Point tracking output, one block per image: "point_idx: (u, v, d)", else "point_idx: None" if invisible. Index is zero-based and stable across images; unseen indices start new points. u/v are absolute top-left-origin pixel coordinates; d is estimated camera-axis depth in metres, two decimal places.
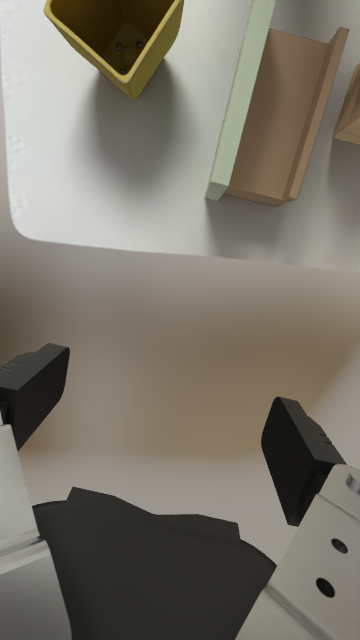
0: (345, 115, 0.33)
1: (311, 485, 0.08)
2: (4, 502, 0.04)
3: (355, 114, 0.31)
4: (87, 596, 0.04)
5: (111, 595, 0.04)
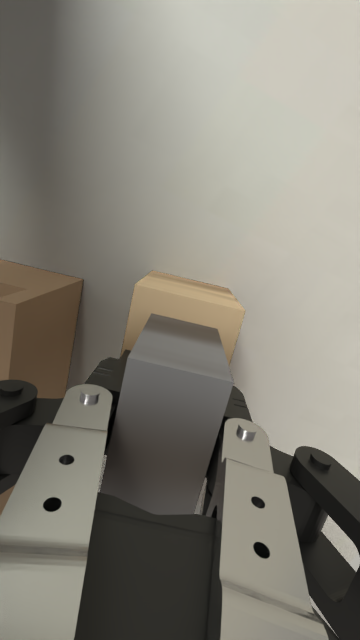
0: None
1: None
2: (73, 502, 0.05)
3: None
4: (87, 596, 0.04)
5: (111, 595, 0.04)
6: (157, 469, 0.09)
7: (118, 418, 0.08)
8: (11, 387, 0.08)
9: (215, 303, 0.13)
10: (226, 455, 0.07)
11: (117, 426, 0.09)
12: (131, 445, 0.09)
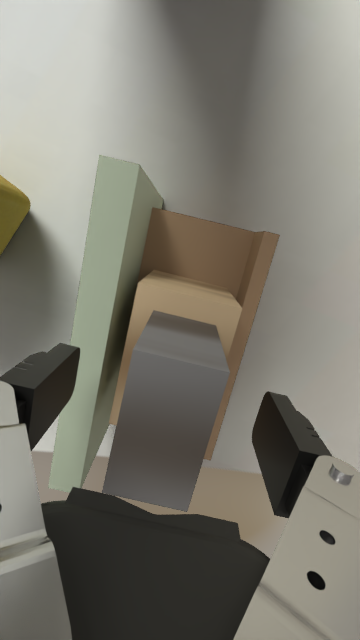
0: None
1: (296, 476, 0.08)
2: (14, 500, 0.04)
3: None
4: (87, 596, 0.04)
5: (112, 595, 0.04)
6: (159, 452, 0.10)
7: (123, 405, 0.09)
8: None
9: (214, 301, 0.13)
10: None
11: (122, 412, 0.09)
12: (135, 430, 0.09)
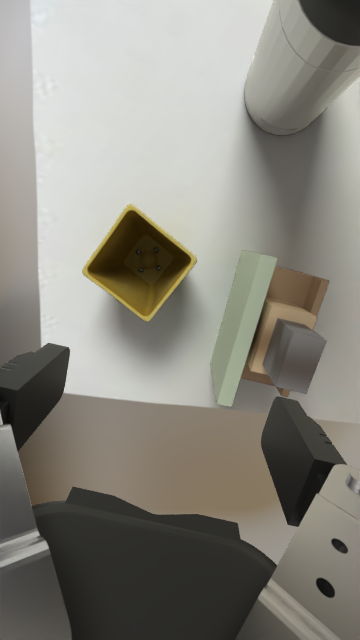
0: None
1: (311, 485, 0.08)
2: (4, 502, 0.04)
3: (250, 358, 0.33)
4: (87, 596, 0.04)
5: (111, 595, 0.04)
6: (298, 370, 0.26)
7: (288, 352, 0.26)
8: None
9: (304, 314, 0.30)
10: None
11: (287, 355, 0.26)
12: (290, 361, 0.26)
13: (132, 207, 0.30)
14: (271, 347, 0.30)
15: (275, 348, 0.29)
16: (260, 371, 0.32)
